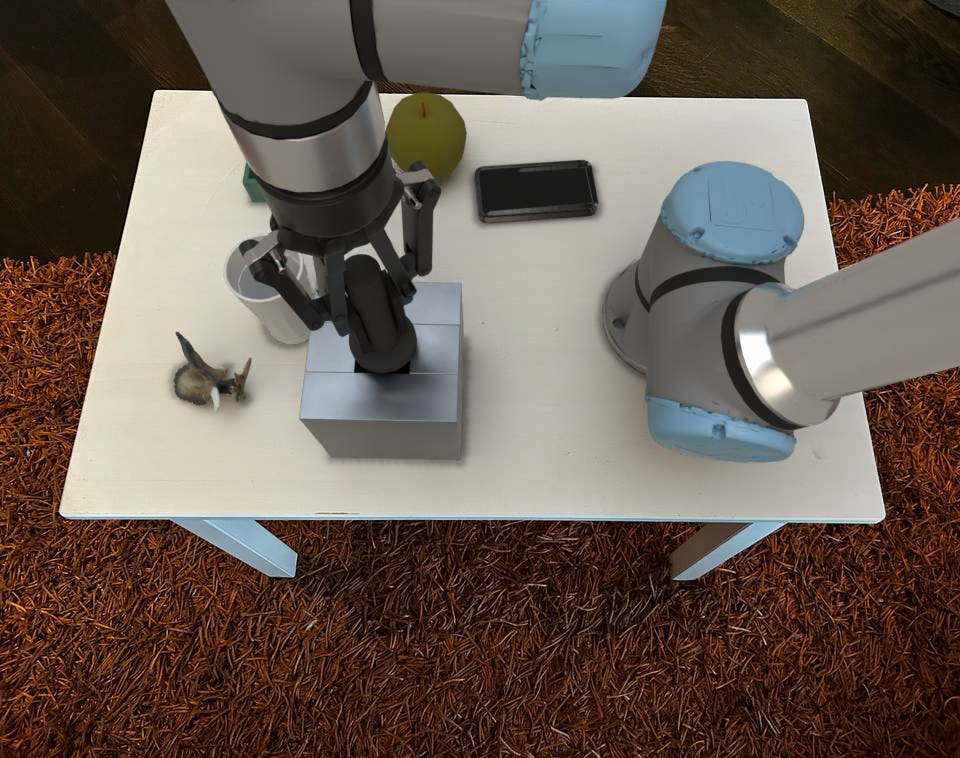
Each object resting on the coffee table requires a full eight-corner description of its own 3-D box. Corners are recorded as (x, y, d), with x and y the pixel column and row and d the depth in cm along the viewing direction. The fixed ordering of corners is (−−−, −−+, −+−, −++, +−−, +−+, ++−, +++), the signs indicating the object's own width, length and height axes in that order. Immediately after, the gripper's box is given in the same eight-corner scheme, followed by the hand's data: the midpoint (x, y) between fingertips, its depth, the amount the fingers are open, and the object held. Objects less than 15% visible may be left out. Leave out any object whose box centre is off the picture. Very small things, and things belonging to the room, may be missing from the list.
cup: (317, 356, 75) (289, 308, 64) (251, 343, 75) (211, 293, 64) (336, 296, 78) (313, 240, 66) (272, 284, 78) (238, 226, 67)
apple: (471, 192, 83) (471, 131, 73) (395, 201, 82) (384, 140, 72) (461, 131, 87) (459, 64, 76) (388, 138, 86) (377, 72, 76)
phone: (599, 209, 81) (479, 217, 80) (597, 215, 82) (479, 223, 81) (590, 158, 84) (474, 165, 83) (588, 164, 85) (474, 171, 84)
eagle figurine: (264, 351, 74) (188, 323, 73) (242, 364, 67) (156, 334, 66) (246, 411, 75) (171, 385, 75) (222, 430, 68) (139, 401, 68)
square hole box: (464, 342, 76) (461, 282, 62) (460, 460, 70) (457, 421, 57) (343, 340, 76) (316, 279, 62) (331, 457, 70) (298, 418, 57)
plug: (431, 342, 61) (416, 258, 47) (397, 394, 60) (371, 322, 46) (378, 313, 62) (348, 223, 49) (342, 363, 61) (301, 284, 47)
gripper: (416, 38, 37) (440, 258, 59) (147, 152, 34) (277, 338, 56) (481, 129, 35) (481, 322, 57) (199, 258, 32) (313, 409, 54)
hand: (379, 330), depth 56 cm, fingers closed on plug, 3 cm apart
